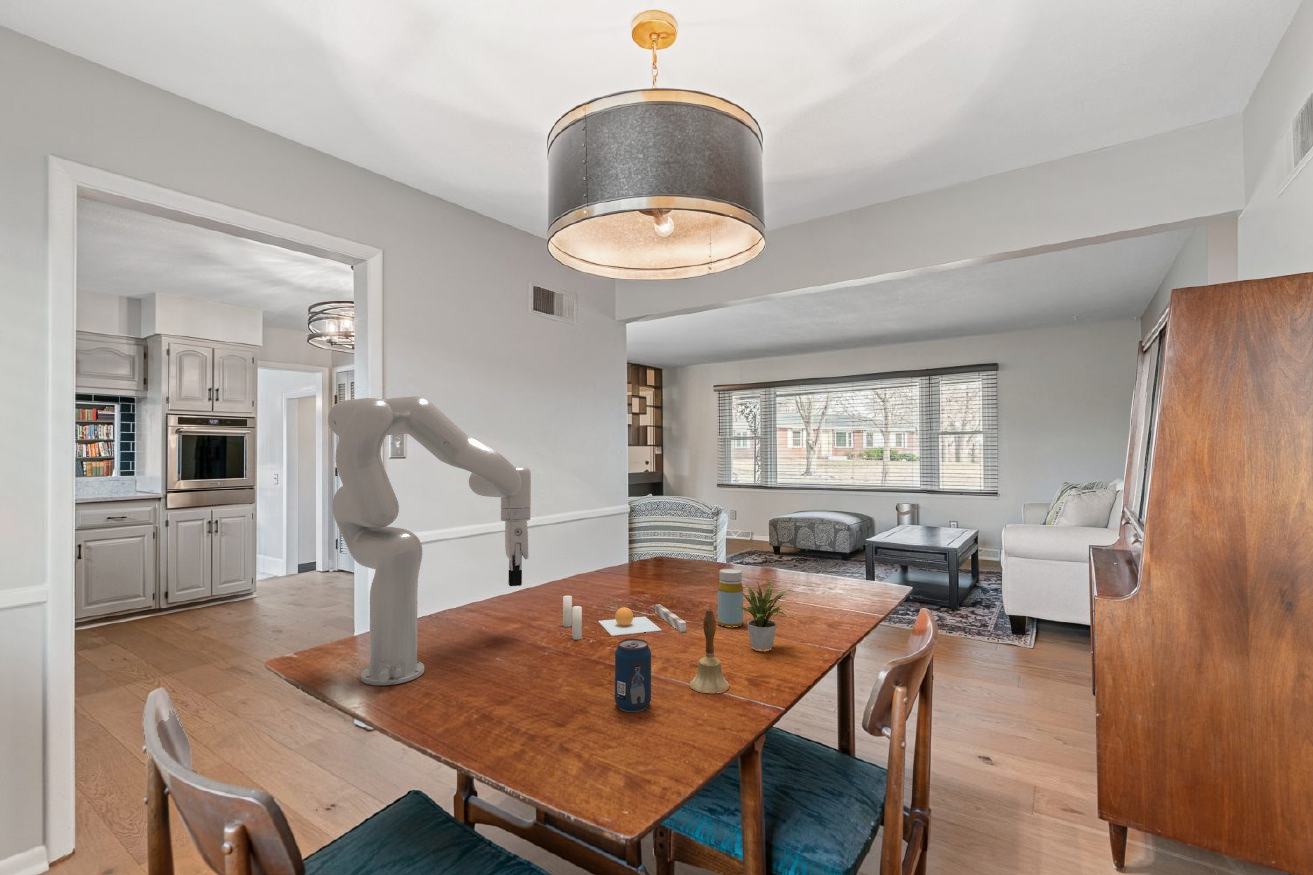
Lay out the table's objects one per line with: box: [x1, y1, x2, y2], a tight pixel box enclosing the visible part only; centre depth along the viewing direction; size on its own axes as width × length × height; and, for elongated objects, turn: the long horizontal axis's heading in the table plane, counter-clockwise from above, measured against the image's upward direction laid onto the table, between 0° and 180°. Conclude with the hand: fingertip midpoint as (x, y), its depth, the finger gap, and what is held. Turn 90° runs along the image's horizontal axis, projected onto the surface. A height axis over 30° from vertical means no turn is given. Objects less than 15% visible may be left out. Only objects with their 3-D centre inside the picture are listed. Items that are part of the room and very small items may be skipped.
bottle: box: [717, 568, 744, 627], centre depth 173 cm, size 7×7×15 cm
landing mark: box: [597, 616, 663, 637], centre depth 171 cm, size 14×14×1 cm
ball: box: [614, 606, 634, 626], centre depth 171 cm, size 5×5×5 cm
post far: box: [562, 595, 573, 628], centre depth 171 cm, size 2×2×8 cm
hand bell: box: [689, 608, 730, 694], centre depth 129 cm, size 8×8×16 cm
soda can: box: [614, 638, 652, 713], centre depth 119 cm, size 7×7×12 cm
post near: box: [571, 605, 583, 641], centre depth 160 cm, size 2×2×8 cm
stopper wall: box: [654, 603, 687, 633], centre depth 175 cm, size 20×2×2 cm, turn 20°
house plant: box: [737, 581, 792, 650], centre depth 151 cm, size 14×14×16 cm
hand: (515, 585), depth 160 cm, fingers closed
